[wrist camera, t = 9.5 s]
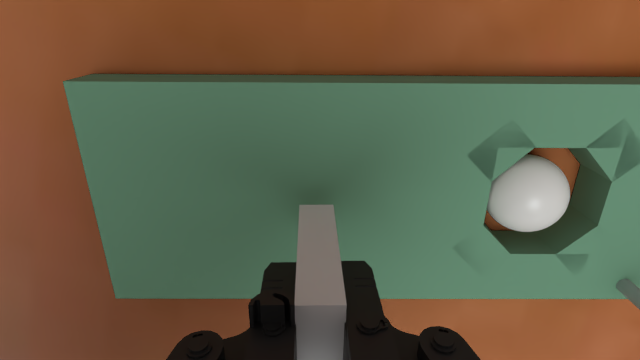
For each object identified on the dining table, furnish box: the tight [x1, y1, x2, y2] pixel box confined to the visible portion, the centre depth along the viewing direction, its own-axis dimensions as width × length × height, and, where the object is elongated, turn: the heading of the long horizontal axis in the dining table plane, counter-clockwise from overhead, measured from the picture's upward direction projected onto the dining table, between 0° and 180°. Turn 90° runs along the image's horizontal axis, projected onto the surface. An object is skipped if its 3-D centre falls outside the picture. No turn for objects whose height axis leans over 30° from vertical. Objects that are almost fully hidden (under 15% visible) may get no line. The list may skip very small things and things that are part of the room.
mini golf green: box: [63, 74, 640, 309], centre depth 16 cm, size 30×12×14 cm, turn 90°
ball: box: [487, 154, 570, 232], centre depth 20 cm, size 4×4×4 cm
